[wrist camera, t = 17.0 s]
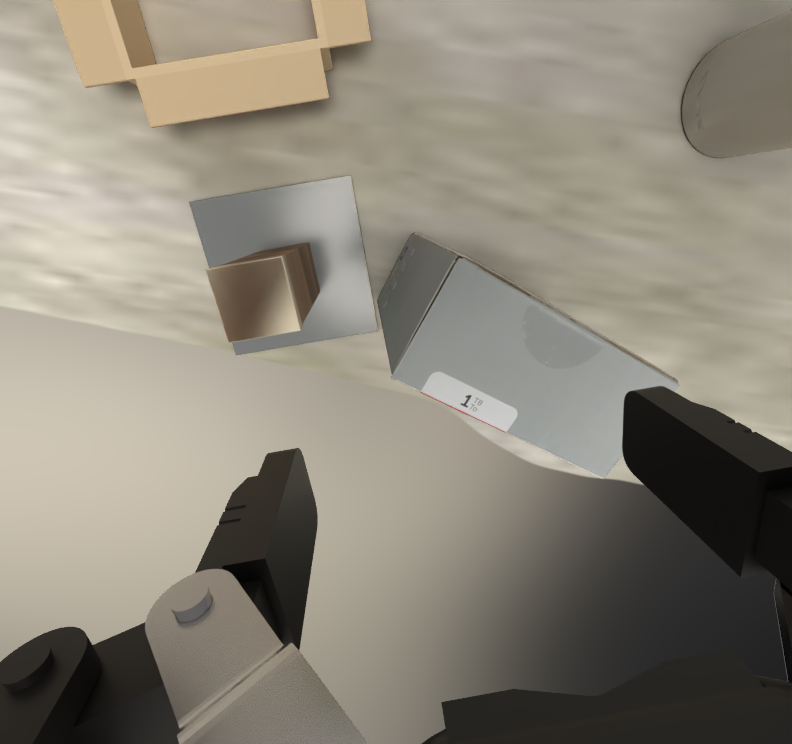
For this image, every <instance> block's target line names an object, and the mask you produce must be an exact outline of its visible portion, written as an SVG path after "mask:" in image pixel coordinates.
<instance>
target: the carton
mask: <svg viewBox="0 0 792 744" xmlns="http://www.w3.org/2000/svg"><path fill="white" fill-rule="evenodd" d="M53 2H54V5H55V8H56V11H57V14H58V16H59V19H60V22H61V25H62V28H63V31H64V33H65V36H66V39H67V42H68V45H69V47H70V50H71V53H72V56H73V59H74V61H75V64H76V67H77V70H78V73H79V75H80V78H81V81H82V84H83V87H85V88H90V87H96V86H102V85H108V84H114V83H120V82H127V81H129V82H131V83H133V84H135V85H136V86H138V89H139V92H140V95H141V99H142V102H143V105H144V108H145V111H146V114H147V117H148V121H149V124H150V127H152V128H155V127H161V126H167V125H173V124H179V123H185V122H191V121H198V120H204V119H210V118H216V117H222V116H228V115H234V114H240V113H246V112H253V111H259V110H265V109H271V108H277V107H283V106H289V105H295V104H301V103H308V102H314V101H320V100H326V99H329V94H328V89H327V84H326V78H325V73H324V71H328V70H333V66H332V60H331V55H330V48H336V47H342V46H348V45H355V44H361V43H367V42H371V38H370V31H369V24H368V18H367V11H366V4H365V0H311V2H312V8H313V13H314V18H315V24H316V29H317V35H318V38H316V39H310V40H304V41H298V42H292V43H286V44H279V45H273V46H267V47H261V48H255V49H248V50H242V51H236V52H230V53H224V54H218V55H211V56H205V57H199V58H193V59H187V60H180V61H174V62H168V63H162V64H156V61H155V58H154V55H153V51H152V48H151V45H150V41H149V38H148V35H147V31H146V28H145V25H144V21H143V18H142V15H141V11H140V8H139V5H138V1H137V0H53Z"/></svg>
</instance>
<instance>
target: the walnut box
mask: <svg viewBox="0 0 792 744" xmlns="http://www.w3.org/2000/svg"><path fill="white" fill-rule="evenodd" d="M205 271H206V274H207V277H208V281H209V284H210V287H211V290H212V293H213V296H214V299H215V303H216V306H217V309H218V312H219V315H220V318H221V322H222V325H223V328H224V331H225V334H226V337H227V341H228V343H233V342H238V341H244V340H250V339H255V338H261V337H267V336H272V335H278V334H284V333H289V332H295V331H300V330H301V329H302V327H303V323H304V321H305V319H306V317H307V315H308V313H309V312H310V310H311V308H312V306H313V304H314V302H315V301H316V299H317V297H318V295H319V293H320V288H319V284H318V279H317V275H316V270H315V266H314V261H313V257H312V253H311V248H310V244H309V242H308V243H303V244H297V245H291V246H285V247H280V248H274V249H268V250H263V251H258V252H256V253H253V254H250V255H247V256H245V257H242V258H239V259H236V260H233V261H231V262H228V263H225V264H222V265H220V266H216V267H211V268H208V269H206V270H205Z"/></svg>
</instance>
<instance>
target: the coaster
mask: <svg viewBox="0 0 792 744" xmlns="http://www.w3.org/2000/svg"><path fill="white" fill-rule="evenodd" d="M189 203H190V207H191V210H192V213H193V216H194V220H195V223H196V226H197V229H198V233H199V236H200V239H201V242H202V246H203V249H204V252H205V255H206V259H207V262H208V265H209V268H211V267H216V266H220V265H222V264H225V263H228V262H231V261H233V260H236V259H239V258H242V257H245V256H247V255H250V254H253V253H256V252H258V251H263V250H268V249H274V248H280V247H285V246H291V245H297V244H303V243H308V242H309V244H310V248H311V253H312V257H313V261H314V266H315V270H316V275H317V279H318V284H319V288H320V293H319V295H318V297H317V299H316V301H315V302H314V304H313V306H312V308H311V310H310V312H309V313H308V315H307V317H306V319H305V321H304V323H303V327H302V329H301V330H300V331H295V332H289V333H284V334H278V335H272V336H267V337H261V338H255V339H250V340H244V341H238V342H233V343H232V344H233V347H234V350H235V353H236V355H241V354H246V353H252V352H258V351H264V350H270V349H276V348H282V347H287V346H293V345H299V344H305V343H311V342H317V341H322V340H328V339H334V338H340V337H346V336H352V335H358V334H363V333H369V332H375V331H378V327H377V322H376V316H375V310H374V305H373V299H372V293H371V288H370V282H369V276H368V271H367V265H366V260H365V254H364V248H363V243H362V237H361V231H360V226H359V220H358V214H357V209H356V203H355V197H354V192H353V186H352V180H351V175H350V176H344V177H338V178H332V179H326V180H320V181H314V182H308V183H302V184H295V185H289V186H283V187H277V188H271V189H265V190H259V191H253V192H247V193H241V194H235V195H229V196H223V197H217V198H211V199H205V200H199V201H193V202H189Z"/></svg>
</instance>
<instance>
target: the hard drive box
mask: <svg viewBox="0 0 792 744" xmlns="http://www.w3.org/2000/svg"><path fill="white" fill-rule="evenodd" d="M377 303H378V307H379V313H380V318H381V323H382V328H383V333H384V338H385V343H386V348H387V353H388V358H389V363H390V368H391V373H392V376H391V379H393V380H396V381H398V382H400V383H402V384H404V385H406V386H409V387H411V388H413V389H415V390H417V391H419V392H421V393H423V394H425V395H427V396H429V397H431V398H433V399H435V400H437V401H439V402H442V403H444V404H446V405H448V406H450V407H452V408H454V409H456V410H458V411H460V412H462V413H464V414H467V415H469V416H471V417H473V418H475V419H478V420H480V421H482V422H484V423H486V424H488V425H490V426H493V427H495V428H497V429H499V430H501V431H503V432H506V433H508V434H510V435H512V436H515V437H517V438H519V439H521V440H523V441H525V442H527V443H529V444H531V445H533V446H535V447H537V448H539V449H541V450H543V451H545V452H547V453H549V454H551V455H553V456H555V457H558V458H560V459H562V460H564V461H566V462H568V463H570V464H572V465H575V466H577V467H579V468H581V469H583V470H585V471H587V472H589V473H591V474H593V475H595V476H597V477H599V478H602V479H604V478H605V477H606V476H607V475H608V473H609V472H610V471H611V470H612V469H613V467H614V466H615V465H616V464H617V463H618V461H619V460H620V459H621V457H622V456H623V452H622V436H623V409H624V398H625V395H626V394H627V393H628V392H629V391H633V390H639V389H644V388H650V387H656V386H664V387H666V388H668V389H670V390H672V391H673V392H674V391H675V390H676V389H677V387H678V386H679V384H678V381H677V380H676V379H675V378H674V377H672V376H671V375H669V374H668V373H666V372H665V371H663V370H661V369H660V368H658V367H656V366H655V365H653V364H651V363H649V362H648V361H646V360H644V359H643V358H641V357H639V356H638V355H636V354H634V353H633V352H631V351H629V350H627V349H626V348H624V347H622V346H621V345H619V344H617V343H615V342H614V341H612V340H610V339H609V338H607V337H605V336H603V335H602V334H600V333H598V332H597V331H595V330H593V329H592V328H590V327H588V326H586V325H585V324H583V323H581V322H580V321H578V320H576V319H575V318H573V317H571V316H569V315H568V314H566V313H564V312H563V311H561V310H559V309H558V308H556V307H554V306H553V305H551V304H549V303H547V302H546V301H544V300H542V299H541V298H539V297H537V296H536V295H534V294H532V293H530V292H529V291H527V290H525V289H524V288H522V287H520V286H519V285H517V284H515V283H513V282H512V281H510V280H508V279H506V278H505V277H503V276H501V275H500V274H498V273H496V272H494V271H493V270H491V269H489V268H487V267H485V266H484V265H482V264H480V263H478V262H476V261H474V260H472V259H470V258H469V257H467V256H465V255H463V254H460V253H458V252H456V251H454V250H452V249H450V248H448V247H446V246H444V245H442V244H440V243H438V242H436V241H434V240H432V239H430V238H428V237H426V236H424V235H422V234H420V233H417V232H415V233H414V234H411V236H410V237H409V239H408V241H407V243H406V245H405V247H404V249H403V251H402V252H401V254H400V256H399V258H398V260H397V262H396V264H395V266H394V268H393V270H392V272H391V274H390V276H389V278H388V280H387V282H386V283H385V285H384V287H383V289H382V291H381V293H380V295H379V298H378V300H377Z"/></svg>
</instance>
